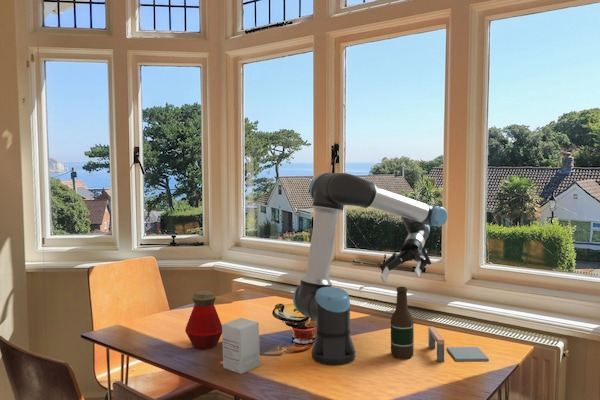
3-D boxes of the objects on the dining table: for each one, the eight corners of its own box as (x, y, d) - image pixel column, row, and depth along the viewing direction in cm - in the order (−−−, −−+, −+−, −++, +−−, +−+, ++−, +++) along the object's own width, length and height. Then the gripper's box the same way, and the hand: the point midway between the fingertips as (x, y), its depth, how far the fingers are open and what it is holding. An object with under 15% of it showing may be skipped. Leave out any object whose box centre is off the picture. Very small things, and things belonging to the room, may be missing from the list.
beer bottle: (413, 360, 167) (413, 290, 165) (390, 358, 168) (390, 289, 167) (413, 352, 174) (413, 285, 173) (391, 350, 176) (390, 284, 175)
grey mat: (455, 361, 165) (455, 358, 165) (446, 349, 176) (446, 347, 176) (488, 360, 165) (488, 358, 165) (477, 349, 176) (477, 346, 176)
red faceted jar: (177, 344, 186) (176, 292, 185) (207, 335, 196) (206, 286, 194) (201, 355, 175) (199, 299, 174) (231, 345, 184) (230, 292, 183)
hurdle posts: (438, 361, 165) (438, 344, 165) (428, 346, 179) (428, 330, 179) (444, 361, 165) (444, 344, 165) (433, 346, 179) (433, 330, 179)
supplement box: (242, 359, 170) (240, 317, 169) (260, 365, 165) (259, 321, 164) (222, 367, 163) (221, 323, 162) (241, 374, 158) (239, 328, 157)
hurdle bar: (438, 344, 165) (438, 339, 165) (428, 330, 179) (428, 326, 179) (444, 344, 165) (444, 339, 165) (433, 330, 179) (433, 326, 179)
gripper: (446, 248, 191) (435, 280, 174) (388, 258, 204) (373, 289, 188) (439, 232, 189) (428, 263, 172) (381, 243, 202) (365, 273, 186)
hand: (399, 276), depth 180 cm, fingers open, 13 cm apart
